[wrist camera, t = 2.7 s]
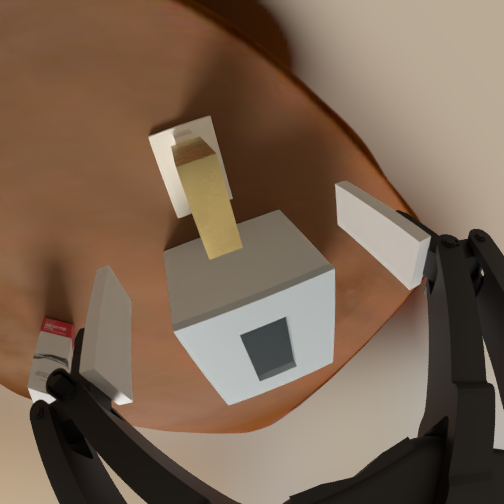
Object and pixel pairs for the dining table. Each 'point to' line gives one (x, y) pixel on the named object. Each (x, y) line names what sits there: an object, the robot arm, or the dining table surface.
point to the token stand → (165, 159)
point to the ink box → (50, 356)
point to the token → (207, 196)
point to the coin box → (254, 307)
